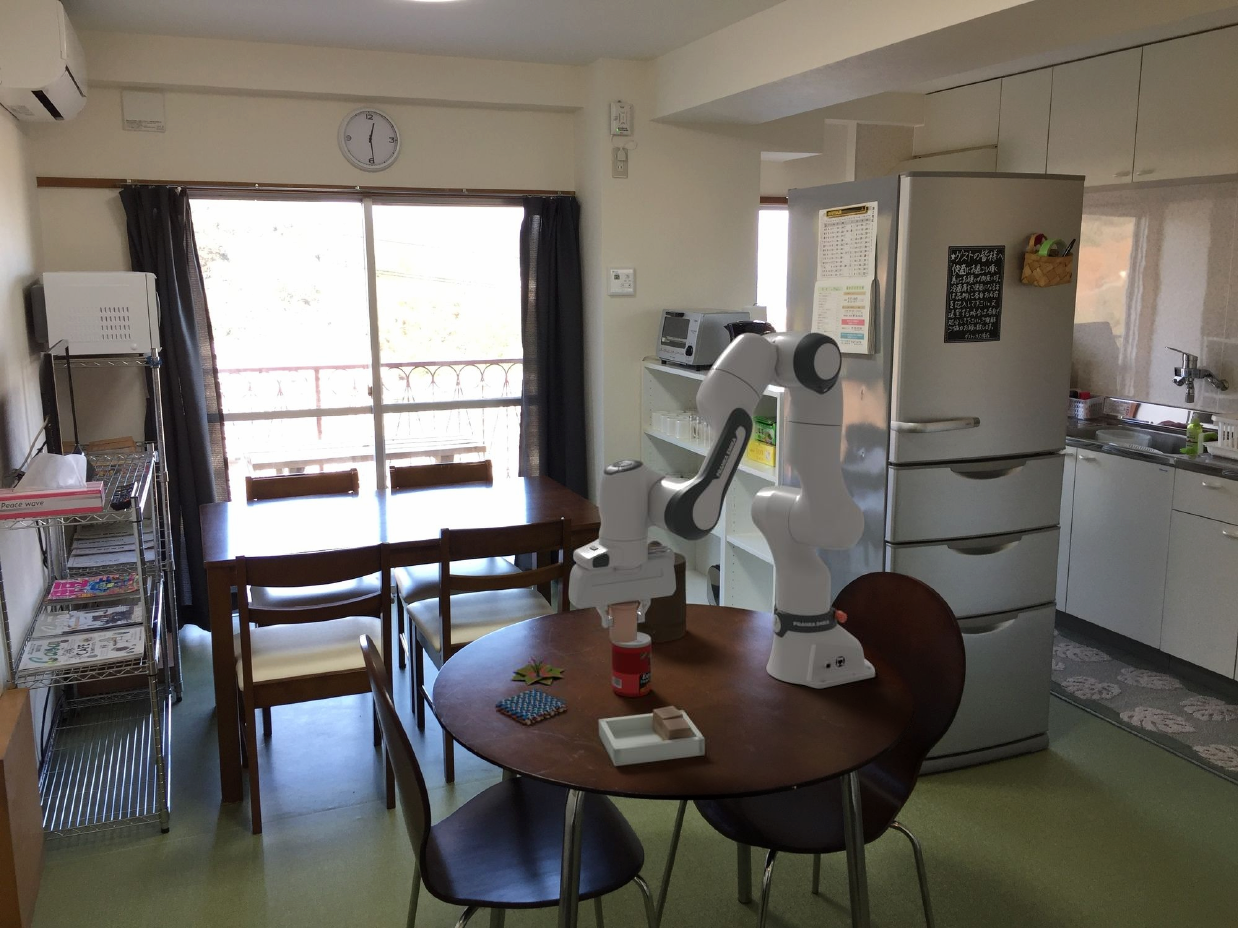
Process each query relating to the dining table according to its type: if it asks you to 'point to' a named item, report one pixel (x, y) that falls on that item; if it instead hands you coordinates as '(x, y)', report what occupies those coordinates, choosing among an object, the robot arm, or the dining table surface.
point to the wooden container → (667, 607)
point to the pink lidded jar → (624, 622)
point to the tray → (645, 740)
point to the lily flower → (537, 672)
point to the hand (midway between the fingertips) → (623, 624)
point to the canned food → (632, 666)
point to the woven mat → (530, 706)
